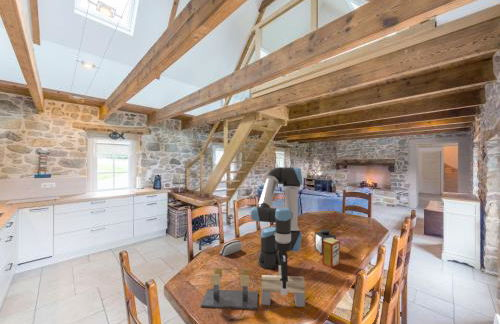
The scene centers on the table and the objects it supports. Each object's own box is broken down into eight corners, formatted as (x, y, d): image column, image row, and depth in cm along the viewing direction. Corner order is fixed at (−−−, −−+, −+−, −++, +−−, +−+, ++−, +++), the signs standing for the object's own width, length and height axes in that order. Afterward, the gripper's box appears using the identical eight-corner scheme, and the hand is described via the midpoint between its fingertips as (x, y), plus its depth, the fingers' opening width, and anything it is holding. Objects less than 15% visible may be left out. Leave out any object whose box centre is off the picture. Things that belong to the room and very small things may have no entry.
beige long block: (261, 286, 102) (261, 274, 102) (303, 288, 101) (303, 276, 101) (261, 291, 98) (261, 279, 98) (304, 293, 97) (304, 281, 97)
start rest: (261, 297, 102) (261, 285, 102) (302, 299, 101) (302, 287, 101) (261, 304, 97) (261, 291, 97) (304, 306, 96) (304, 293, 96)
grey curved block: (237, 248, 164) (239, 237, 161) (240, 252, 160) (243, 241, 158) (219, 254, 153) (221, 242, 150) (222, 258, 149) (225, 246, 147)
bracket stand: (207, 291, 108) (207, 264, 108) (257, 293, 106) (258, 266, 106) (200, 306, 96) (201, 277, 96) (257, 309, 94) (257, 279, 94)
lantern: (322, 255, 152) (322, 216, 153) (314, 249, 163) (314, 213, 164) (335, 254, 154) (336, 216, 155) (327, 248, 165) (327, 213, 166)
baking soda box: (331, 268, 133) (331, 243, 133) (322, 264, 138) (322, 240, 138) (339, 264, 138) (339, 240, 138) (330, 260, 143) (330, 237, 144)
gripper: (273, 232, 112) (273, 272, 112) (276, 251, 88) (276, 302, 87) (287, 233, 112) (287, 273, 111) (294, 251, 87) (294, 303, 86)
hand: (282, 286), depth 99 cm, fingers open, 13 cm apart
